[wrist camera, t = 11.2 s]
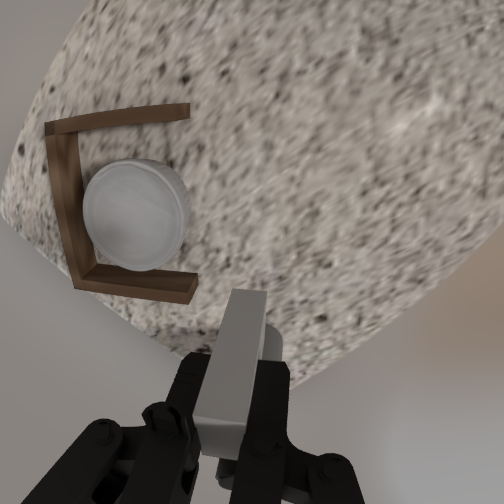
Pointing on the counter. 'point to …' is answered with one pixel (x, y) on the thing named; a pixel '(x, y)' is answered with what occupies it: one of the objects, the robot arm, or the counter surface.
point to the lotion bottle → (270, 352)
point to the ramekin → (137, 213)
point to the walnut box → (71, 210)
